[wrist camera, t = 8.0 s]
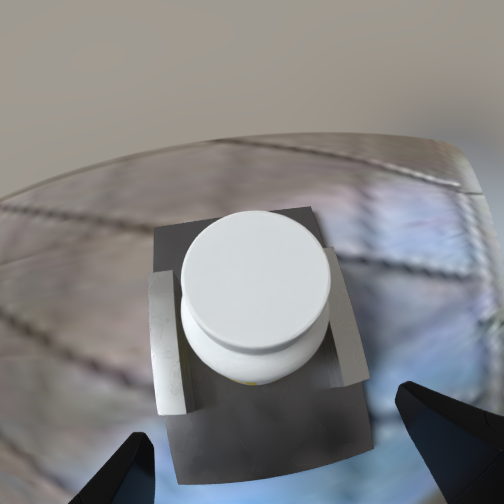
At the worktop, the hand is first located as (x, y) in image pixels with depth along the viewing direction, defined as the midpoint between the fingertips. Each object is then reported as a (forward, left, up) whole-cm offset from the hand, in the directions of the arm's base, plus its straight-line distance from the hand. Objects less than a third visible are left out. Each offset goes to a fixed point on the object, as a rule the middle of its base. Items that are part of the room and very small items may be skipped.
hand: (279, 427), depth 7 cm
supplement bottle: (+4, +1, -7) cm, 8 cm away
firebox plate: (+4, +1, -8) cm, 9 cm away
